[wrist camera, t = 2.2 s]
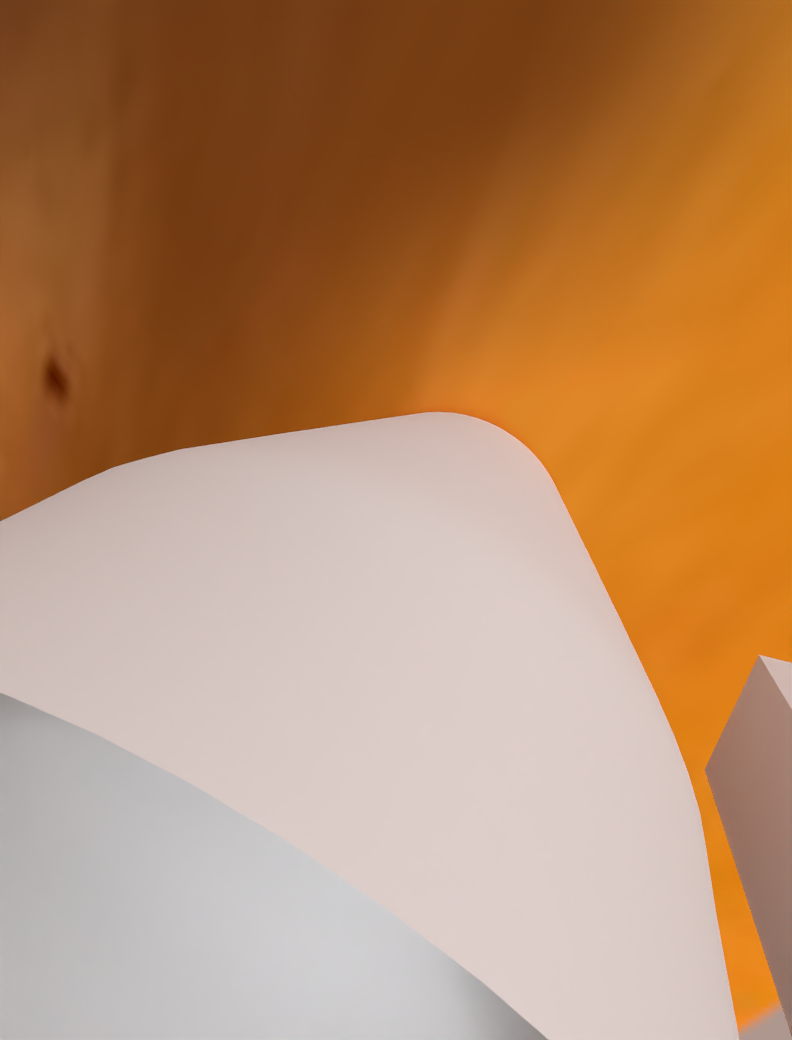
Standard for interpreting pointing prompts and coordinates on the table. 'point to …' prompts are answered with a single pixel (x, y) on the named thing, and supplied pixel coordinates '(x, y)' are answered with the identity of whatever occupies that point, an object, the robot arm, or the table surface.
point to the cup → (338, 757)
